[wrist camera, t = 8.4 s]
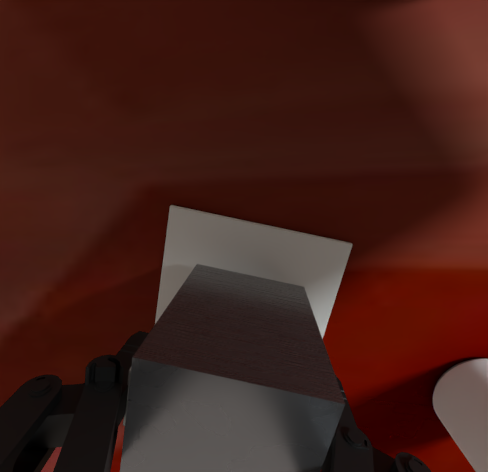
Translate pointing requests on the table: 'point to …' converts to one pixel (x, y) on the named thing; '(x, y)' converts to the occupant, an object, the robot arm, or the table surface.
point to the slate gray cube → (232, 381)
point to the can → (465, 408)
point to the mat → (252, 256)
